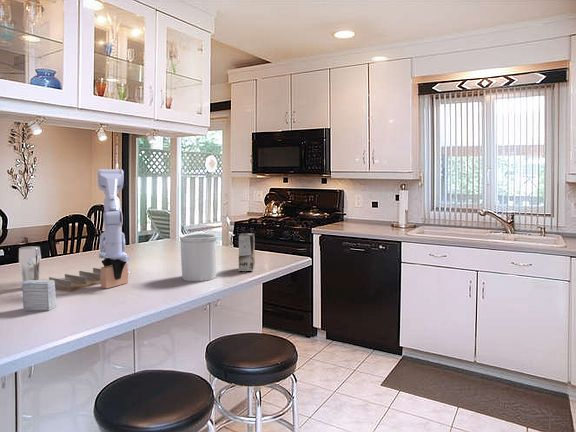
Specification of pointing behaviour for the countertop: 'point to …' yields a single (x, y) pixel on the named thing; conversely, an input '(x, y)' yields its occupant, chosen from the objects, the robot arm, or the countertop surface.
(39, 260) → the beer glass
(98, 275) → the dish rack
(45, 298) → the medicine box
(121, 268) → the robot arm
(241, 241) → the coffee box
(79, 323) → the countertop surface
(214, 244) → the utensil holder
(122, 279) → the salmon pink box
